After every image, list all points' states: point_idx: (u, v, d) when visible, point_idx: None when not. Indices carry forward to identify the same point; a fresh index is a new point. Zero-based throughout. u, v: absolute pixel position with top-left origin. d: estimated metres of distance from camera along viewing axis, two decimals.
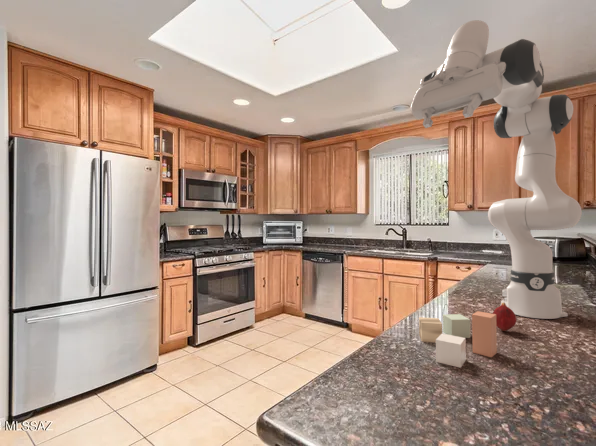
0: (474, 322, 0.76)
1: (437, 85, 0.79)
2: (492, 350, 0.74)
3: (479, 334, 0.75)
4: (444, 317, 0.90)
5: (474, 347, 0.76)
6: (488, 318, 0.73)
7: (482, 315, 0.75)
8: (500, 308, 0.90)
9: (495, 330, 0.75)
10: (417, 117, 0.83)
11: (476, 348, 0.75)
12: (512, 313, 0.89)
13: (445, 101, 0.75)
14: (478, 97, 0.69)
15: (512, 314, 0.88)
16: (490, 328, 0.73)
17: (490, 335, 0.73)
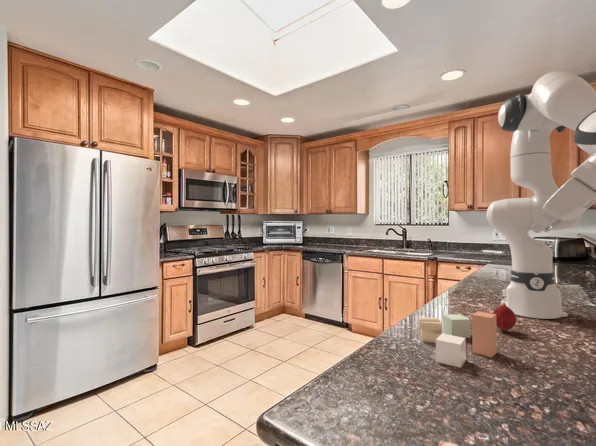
0: (475, 322, 0.76)
1: (591, 199, 0.61)
2: (492, 350, 0.74)
3: (479, 334, 0.75)
4: (444, 317, 0.90)
5: (474, 347, 0.76)
6: (488, 318, 0.73)
7: (482, 315, 0.75)
8: (500, 308, 0.90)
9: (495, 330, 0.75)
10: (546, 211, 0.62)
11: (476, 348, 0.75)
12: (512, 313, 0.89)
13: None
14: None
15: (512, 314, 0.88)
16: (490, 328, 0.73)
17: (490, 335, 0.73)
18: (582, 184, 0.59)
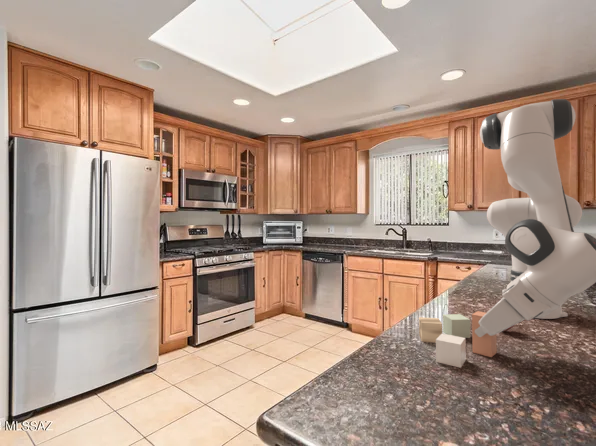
0: (474, 322, 0.76)
1: None
2: (492, 350, 0.74)
3: None
4: (444, 317, 0.90)
5: (474, 347, 0.76)
6: None
7: (482, 315, 0.75)
8: None
9: None
10: None
11: (476, 348, 0.75)
12: None
13: None
14: None
15: None
16: None
17: None
18: (511, 307, 0.65)
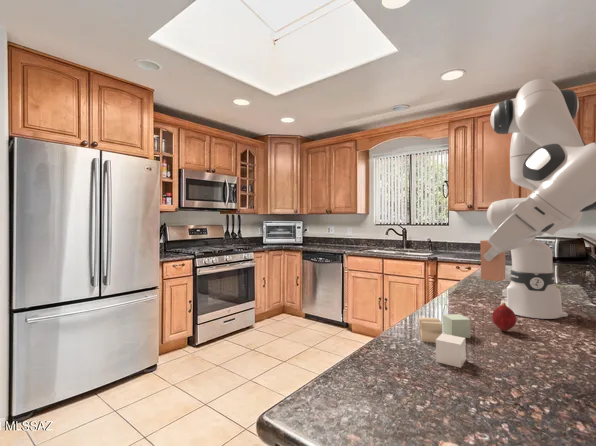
0: (483, 248, 0.74)
1: None
2: (501, 274, 0.72)
3: None
4: (444, 317, 0.90)
5: (482, 273, 0.75)
6: None
7: None
8: (500, 308, 0.90)
9: (504, 256, 0.74)
10: None
11: (485, 274, 0.74)
12: (512, 313, 0.89)
13: None
14: None
15: (512, 314, 0.88)
16: None
17: (499, 259, 0.72)
18: (521, 221, 0.64)
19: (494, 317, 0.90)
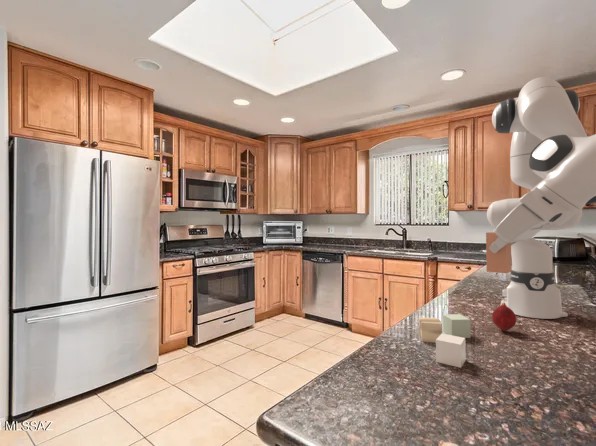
0: (489, 240, 0.74)
1: None
2: (507, 266, 0.72)
3: None
4: (444, 317, 0.90)
5: (488, 266, 0.74)
6: None
7: None
8: (500, 308, 0.90)
9: (510, 248, 0.73)
10: None
11: (491, 266, 0.73)
12: (512, 313, 0.89)
13: None
14: None
15: (512, 314, 0.88)
16: None
17: (505, 251, 0.71)
18: (528, 211, 0.63)
19: (494, 317, 0.90)
